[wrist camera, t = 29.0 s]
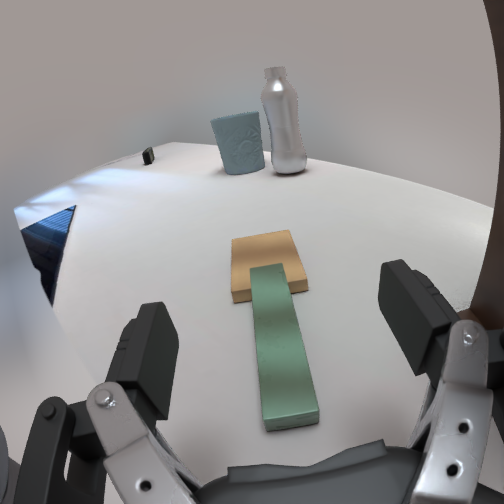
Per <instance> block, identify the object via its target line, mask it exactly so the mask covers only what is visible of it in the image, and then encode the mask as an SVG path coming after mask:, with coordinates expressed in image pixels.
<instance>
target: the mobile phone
mask: <svg viewBox="0 0 504 504" xmlns="http://www.w3.org/2000/svg"><path fill="white" fill-rule="evenodd" d="M142 156H143V160H144V163H145V165H148V164H151V162H152V161H153V160H154V154H153V150H152V147H150V148H147V149H146V150H145V151H144V152H143V154H142Z"/></svg>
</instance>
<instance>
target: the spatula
mask: <svg viewBox="0 0 504 504" xmlns="http://www.w3.org/2000/svg"><path fill="white" fill-rule="evenodd" d="M307 290H308V281H307V277H306V274H305V271H304V268H303V266H302V263H301V260H300V258H299V255H298V252H297V250H296V247H295V244H294V242H293V239H292V237H291V234H290V231H289V230H283V231H277V232H272V233H266V234H260V235H254V236H248V237H243V238H237V239H232V260H231V293H232V297H233V301H234V303H237V302H244V301H250V300H252V304H253V316H254V327H255V339H256V350H257V361H258V373H259V384H260V395H261V406H262V417H263V422H264V425H265V428H266V431H273V430H280V429H287V428H293V427H299V426H304V425H309V424H315V423H318V422H319V407H318V402H317V398H316V394H315V390H314V385H313V381H312V377H311V373H310V369H309V365H308V360H307V356H306V352H305V348H304V344H303V340H302V336H301V332H300V328H299V324H298V320H297V317H296V313H295V309H294V305H293V301H292V297H291V293H296V292H302V291H307Z"/></svg>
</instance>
